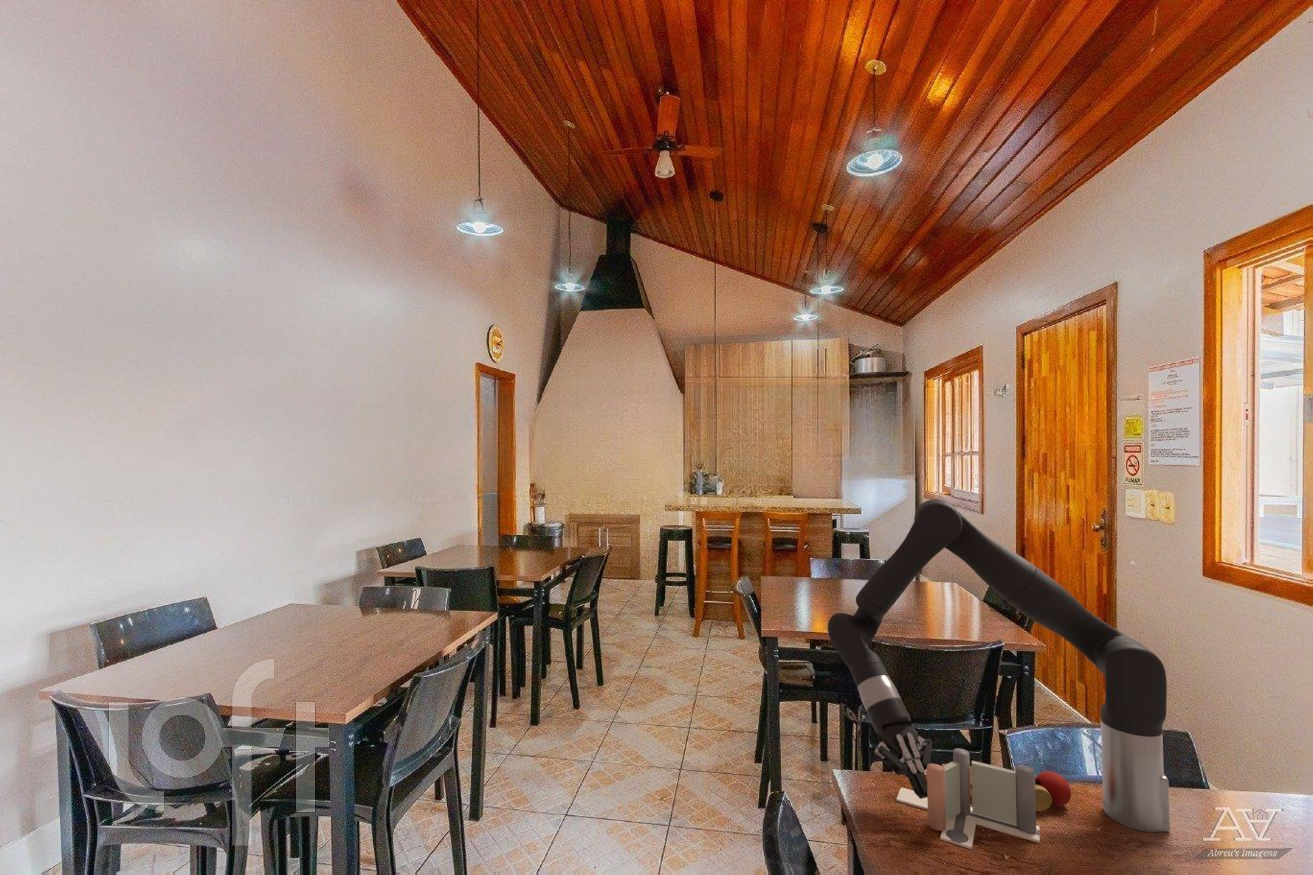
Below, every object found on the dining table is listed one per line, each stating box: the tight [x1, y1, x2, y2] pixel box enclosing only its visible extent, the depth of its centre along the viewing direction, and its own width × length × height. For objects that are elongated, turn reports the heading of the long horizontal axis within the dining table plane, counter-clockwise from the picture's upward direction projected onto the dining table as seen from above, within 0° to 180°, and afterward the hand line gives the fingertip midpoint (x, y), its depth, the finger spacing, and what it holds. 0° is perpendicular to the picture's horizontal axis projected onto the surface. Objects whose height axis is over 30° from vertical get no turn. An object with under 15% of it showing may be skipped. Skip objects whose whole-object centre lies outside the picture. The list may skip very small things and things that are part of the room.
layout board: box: [895, 787, 1041, 850], centre depth 110 cm, size 24×14×1 cm, turn 57°
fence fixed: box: [952, 748, 1037, 832], centre depth 111 cm, size 13×3×11 cm, turn 57°
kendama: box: [970, 769, 1072, 812], centre depth 118 cm, size 8×6×18 cm
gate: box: [926, 761, 960, 832], centre depth 111 cm, size 9×3×10 cm, turn 125°
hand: (925, 796), depth 111 cm, fingers closed
